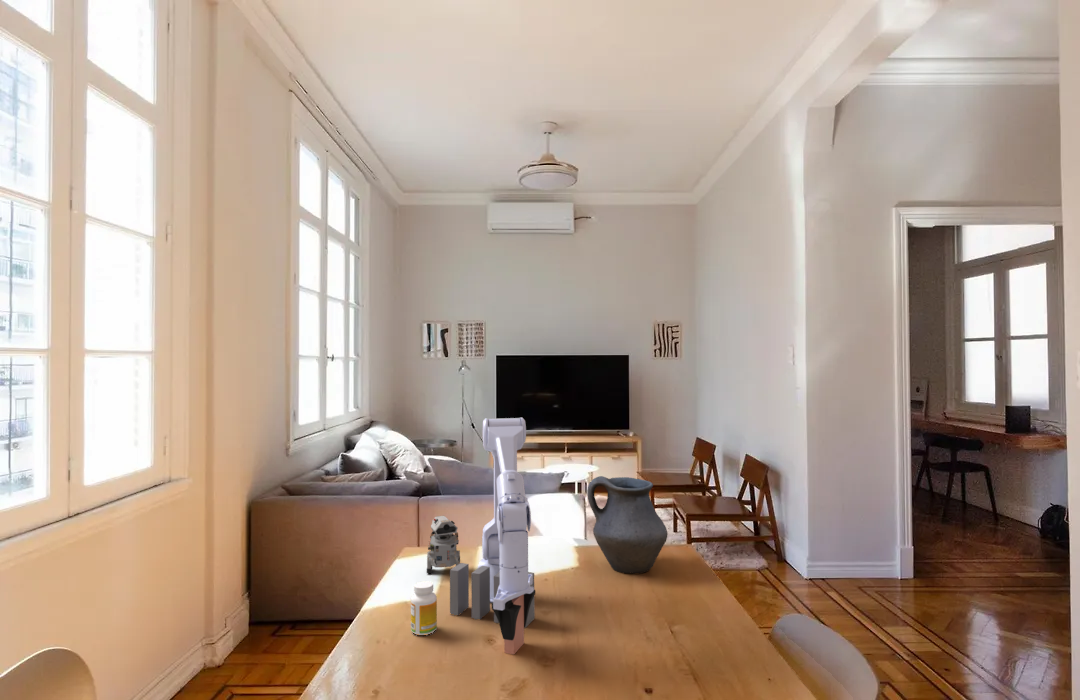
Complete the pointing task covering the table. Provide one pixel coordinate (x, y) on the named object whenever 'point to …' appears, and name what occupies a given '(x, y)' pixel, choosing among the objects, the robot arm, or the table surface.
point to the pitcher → (627, 524)
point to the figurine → (443, 544)
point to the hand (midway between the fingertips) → (514, 632)
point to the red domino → (518, 640)
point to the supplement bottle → (423, 609)
